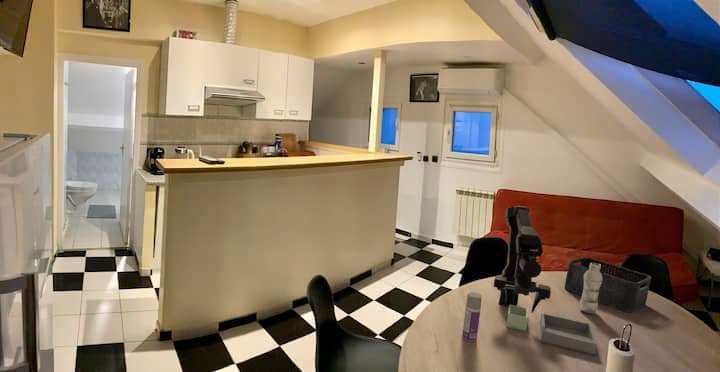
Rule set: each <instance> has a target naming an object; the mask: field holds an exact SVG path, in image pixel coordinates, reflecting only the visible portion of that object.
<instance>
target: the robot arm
mask: <svg viewBox="0 0 720 372" xmlns="http://www.w3.org/2000/svg"><path fill="white" fill-rule="evenodd" d="M504 218H505V223H506V225H507V227H508V229H509V232H508V244H507V245H508V247H507V248H508V249H507V259H506V260H507V261H506V265H505V267H504V268H503V270H502V271H501V272H502V273H501V275H496V276H495V277H494V281H493V288H496V290H497V291H499V293H500V295H499V300H498V304H499V305H501V306H504V307H506V306H507V307H509V304H510V305H514V306H518V303H519V297H520V295H524V296H527V297H528V296H529V294H532V293H535V295H534V300H533V303H532V307H531V313H534V312H535V310H536V308H537V306H538V305H539V304H540V302H541V301H542V300H544V301H545V300H546V299H547V300H548V299H551V293H552V291H551V287H550V286H549V285H545V284H541V283H538V285H537V282H536V281H532V279H533V278H537V277H539V276H540V275H541V273H542V266H541V264H540V262H539V261H537V259H538V258H537V257H539V258H541V257H542V255H543V252H544V251H543V242H542V239H541V238H540V235H539V233H538V231H537V230H535V229H533V226H532V223H531V222H532V221H531V217H530V209H529V207H527V206H522V205H516V206H512V207H511V206H509V207H507V208H506V209H505V211H504Z"/></svg>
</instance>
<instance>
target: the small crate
mask: <svg viewBox="0 0 720 372" xmlns="http://www.w3.org/2000/svg"><path fill="white" fill-rule="evenodd" d="M507 312H508V313H507V320H506V326H505V327H506V328H509V329H513V330H518V331H521V332H527V325H528V320H529V319H528V318H529V316H528V315H529V308H527V307H524V306H523V307H522V306H518V305H516V306H514V305H510V304H509V306H508V311H507Z"/></svg>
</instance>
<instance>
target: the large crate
mask: <svg viewBox="0 0 720 372" xmlns="http://www.w3.org/2000/svg"><path fill="white" fill-rule="evenodd" d="M539 330H540V331H539V332H540V333H539V334H540V343H541V344H544V345H549V346H553V347H558V348H562V349H566V350H570V351H573V352H577V353H578V352H579V353H582V354H586V355H590V356H594V357H595V356H596V354H597V348H598V343H597V339H596V336H595V333H594V330H593V327H592V324H591V323H589V322H585V321H579V320H575V319H572V318H566V317H563V316H558V315H553V314H549V313H546V312H545V313H544V312H541V314H540V320H539Z"/></svg>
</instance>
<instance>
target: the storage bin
mask: <svg viewBox="0 0 720 372" xmlns="http://www.w3.org/2000/svg"><path fill="white" fill-rule="evenodd" d="M577 263H579V264H577ZM590 263H597V264H600V265H601V267H600V268H601V269H600V270H599V271H600V273H601V275H602V278H603V280H602V283H601V286H600V290H599V294H598V303H599V304H603V305H606V306H608V307H611V308H613V309H616V310H619V311H622V312H625V313H634V312H636V311H638V310H640V309H642V308H644V307H646V305H647V304H646V303H647V300H648V295H649V289H650V285H651V279H652V277H651V276H650V275H649V274H646V273H642V272H640V271H635V270H632V269H629V268H626V267H623V266H621V265H616V264H612V263H610V262H607V261H603V260H599V259H596V258H592V257H588V256H583V257H578V258H575V259H570V260H569V261H568V265H567V271H566V277H565V283H564V289H565V290H567V291H568V292H571V293H574V294H576V295H578V296H581V297H582V294H583V289H584V274H585V272H586V271H588V270H589V269H590V268H589V266H590Z"/></svg>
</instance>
